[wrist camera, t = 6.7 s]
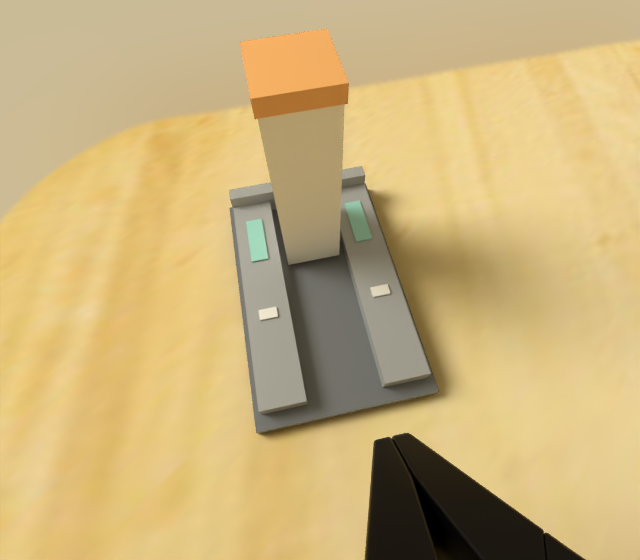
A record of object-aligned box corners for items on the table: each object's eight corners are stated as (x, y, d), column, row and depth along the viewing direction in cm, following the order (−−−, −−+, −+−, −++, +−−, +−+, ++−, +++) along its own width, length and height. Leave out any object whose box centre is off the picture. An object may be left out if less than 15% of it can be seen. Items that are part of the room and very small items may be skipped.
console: (436, 393, 20) (448, 384, 17) (258, 434, 19) (249, 429, 17) (364, 188, 26) (367, 163, 24) (231, 213, 26) (222, 189, 23)
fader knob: (341, 255, 23) (348, 82, 13) (287, 266, 22) (250, 98, 12) (329, 213, 24) (327, 28, 14) (278, 222, 24) (239, 41, 14)
